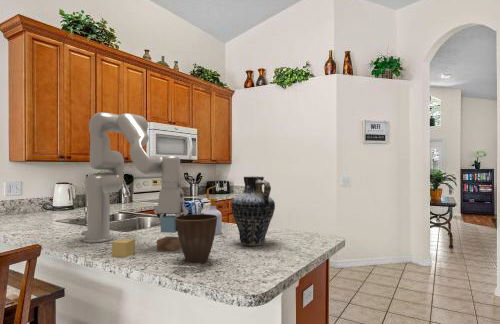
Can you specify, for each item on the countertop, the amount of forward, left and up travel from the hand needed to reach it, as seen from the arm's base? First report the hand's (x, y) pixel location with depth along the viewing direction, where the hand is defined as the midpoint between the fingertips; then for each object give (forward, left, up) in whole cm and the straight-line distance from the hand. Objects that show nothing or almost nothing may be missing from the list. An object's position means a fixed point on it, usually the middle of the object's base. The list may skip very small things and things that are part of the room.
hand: (171, 229), depth 133 cm
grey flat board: (0, 0, -8) cm, 8 cm away
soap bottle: (+5, +36, -9) cm, 37 cm away
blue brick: (0, 0, -1) cm, 1 cm away
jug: (+31, +18, -9) cm, 37 cm away
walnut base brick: (0, 0, -8) cm, 8 cm away
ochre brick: (-13, -13, -9) cm, 20 cm away
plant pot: (+17, -13, -9) cm, 23 cm away
